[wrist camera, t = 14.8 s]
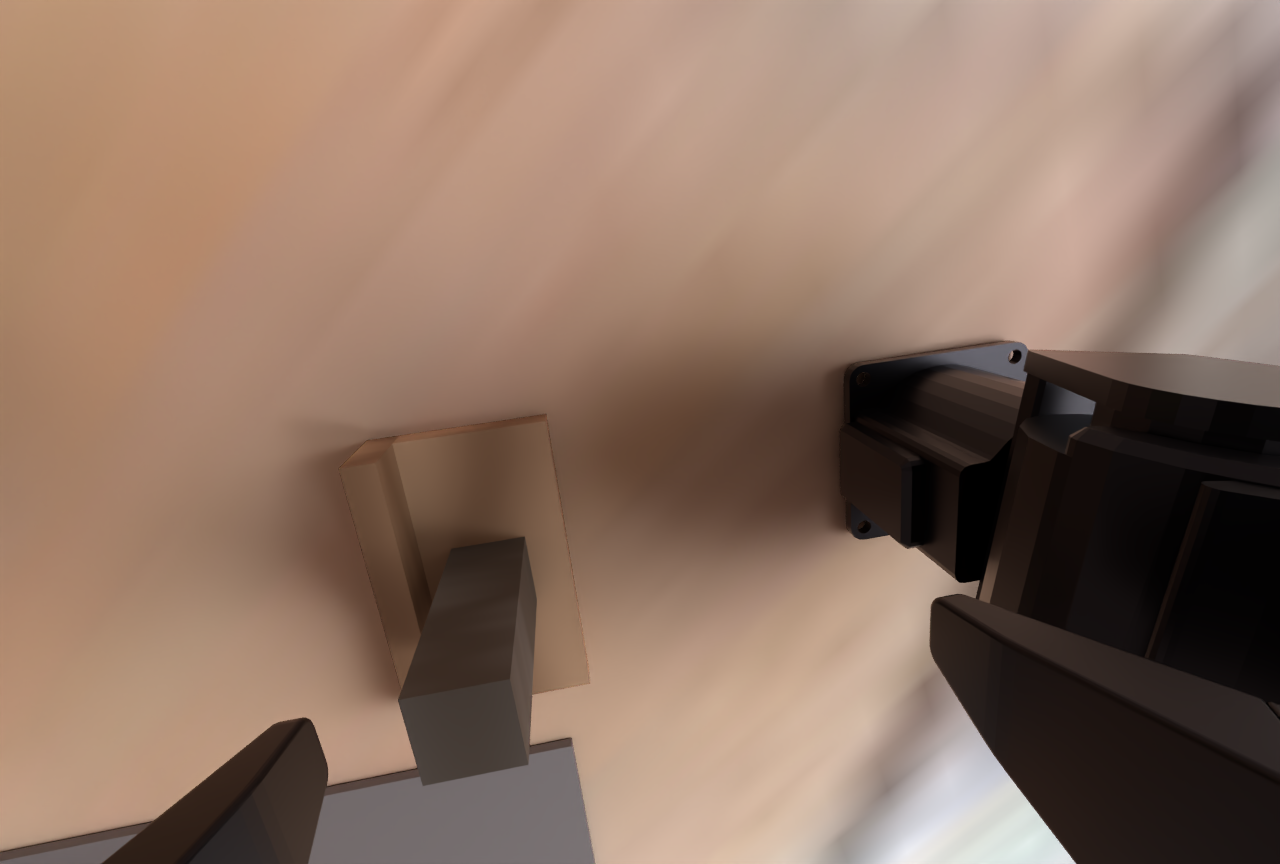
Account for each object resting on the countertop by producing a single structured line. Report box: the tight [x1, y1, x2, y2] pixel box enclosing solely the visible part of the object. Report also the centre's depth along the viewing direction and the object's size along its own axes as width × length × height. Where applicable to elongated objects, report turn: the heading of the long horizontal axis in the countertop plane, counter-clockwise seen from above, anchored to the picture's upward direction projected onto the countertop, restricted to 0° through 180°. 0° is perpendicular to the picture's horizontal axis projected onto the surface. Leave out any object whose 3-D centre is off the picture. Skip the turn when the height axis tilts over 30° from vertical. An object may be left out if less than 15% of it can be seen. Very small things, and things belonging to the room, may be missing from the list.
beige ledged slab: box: [339, 414, 590, 786], centre depth 17 cm, size 6×10×8 cm, turn 7°
